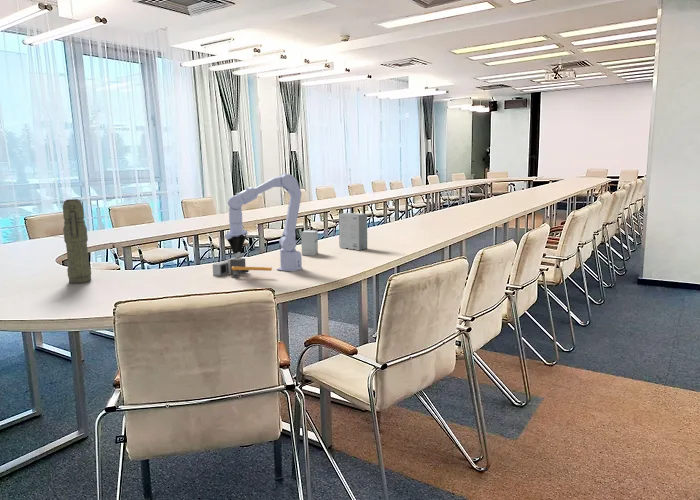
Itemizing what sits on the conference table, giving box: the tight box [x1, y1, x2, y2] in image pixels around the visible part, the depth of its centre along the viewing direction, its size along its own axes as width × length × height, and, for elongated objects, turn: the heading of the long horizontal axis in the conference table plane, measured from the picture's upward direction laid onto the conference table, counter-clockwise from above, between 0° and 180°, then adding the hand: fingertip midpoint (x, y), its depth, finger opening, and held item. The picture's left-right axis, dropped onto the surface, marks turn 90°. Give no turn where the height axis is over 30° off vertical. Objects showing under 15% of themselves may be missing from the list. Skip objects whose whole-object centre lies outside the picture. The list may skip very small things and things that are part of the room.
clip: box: [232, 266, 273, 272], centre depth 229 cm, size 3×18×2 cm, turn 81°
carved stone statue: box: [62, 198, 92, 285], centre depth 223 cm, size 9×12×35 cm
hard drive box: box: [338, 212, 368, 251], centre depth 299 cm, size 16×8×20 cm, turn 49°
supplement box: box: [300, 230, 319, 256], centre depth 283 cm, size 7×7×13 cm
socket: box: [212, 259, 229, 277], centre depth 241 cm, size 4×16×5 cm, turn 157°
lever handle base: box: [230, 270, 240, 279], centre depth 231 cm, size 4×4×3 cm
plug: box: [227, 257, 250, 275], centre depth 239 cm, size 9×5×6 cm, turn 67°
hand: (237, 252), depth 238 cm, fingers open, 3 cm apart
